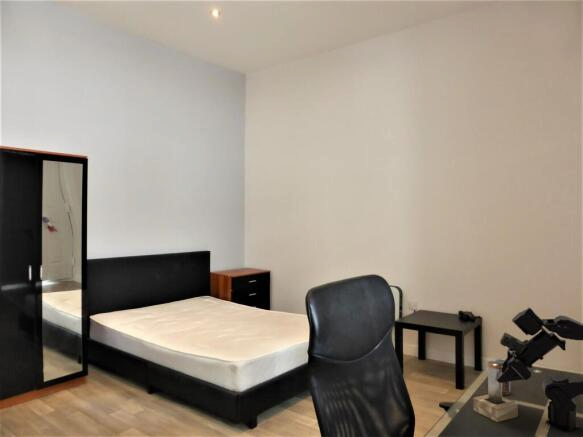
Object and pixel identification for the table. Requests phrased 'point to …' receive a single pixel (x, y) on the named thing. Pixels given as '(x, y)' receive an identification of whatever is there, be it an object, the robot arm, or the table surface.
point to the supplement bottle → (505, 383)
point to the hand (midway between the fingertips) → (498, 376)
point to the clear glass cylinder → (494, 382)
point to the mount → (496, 408)
